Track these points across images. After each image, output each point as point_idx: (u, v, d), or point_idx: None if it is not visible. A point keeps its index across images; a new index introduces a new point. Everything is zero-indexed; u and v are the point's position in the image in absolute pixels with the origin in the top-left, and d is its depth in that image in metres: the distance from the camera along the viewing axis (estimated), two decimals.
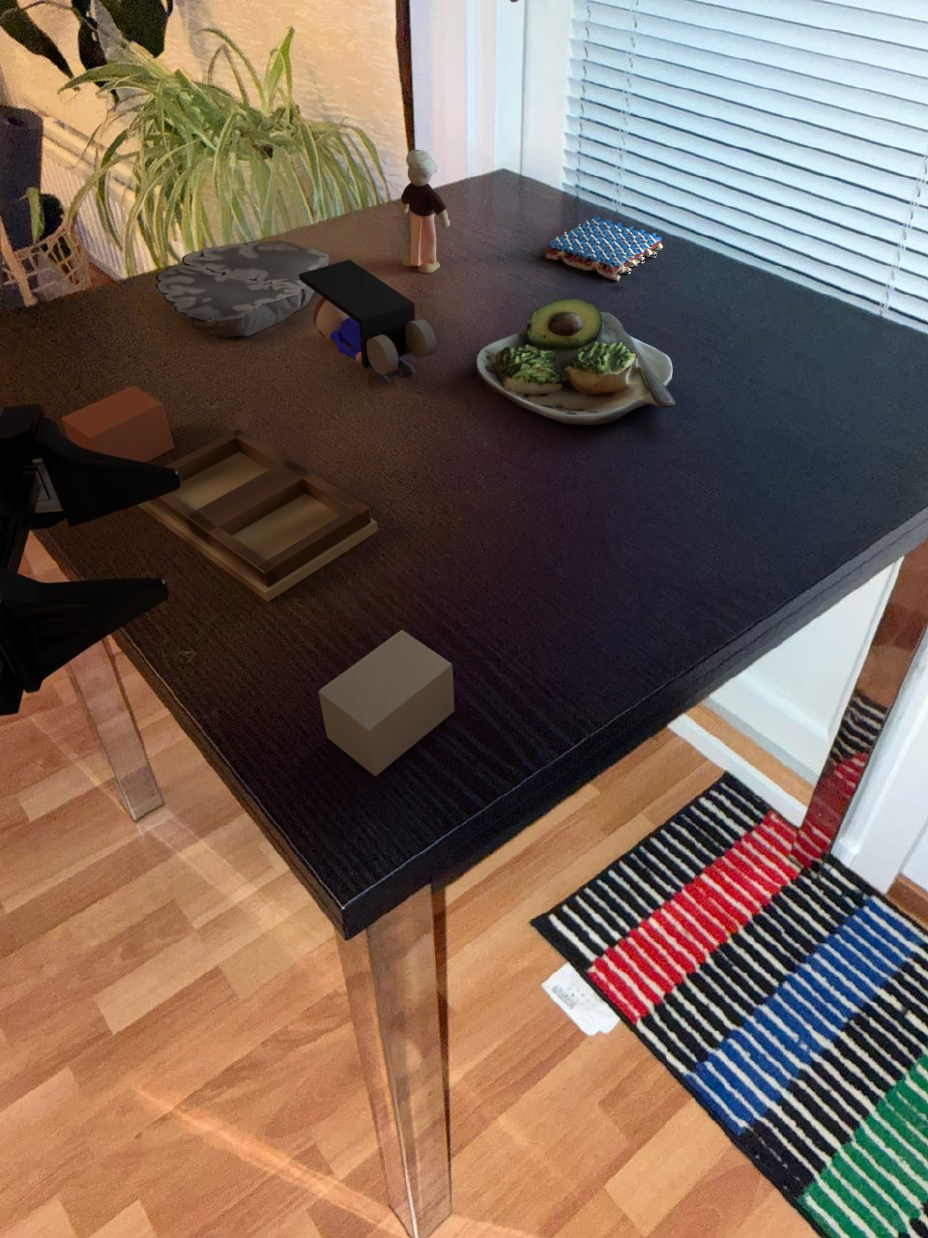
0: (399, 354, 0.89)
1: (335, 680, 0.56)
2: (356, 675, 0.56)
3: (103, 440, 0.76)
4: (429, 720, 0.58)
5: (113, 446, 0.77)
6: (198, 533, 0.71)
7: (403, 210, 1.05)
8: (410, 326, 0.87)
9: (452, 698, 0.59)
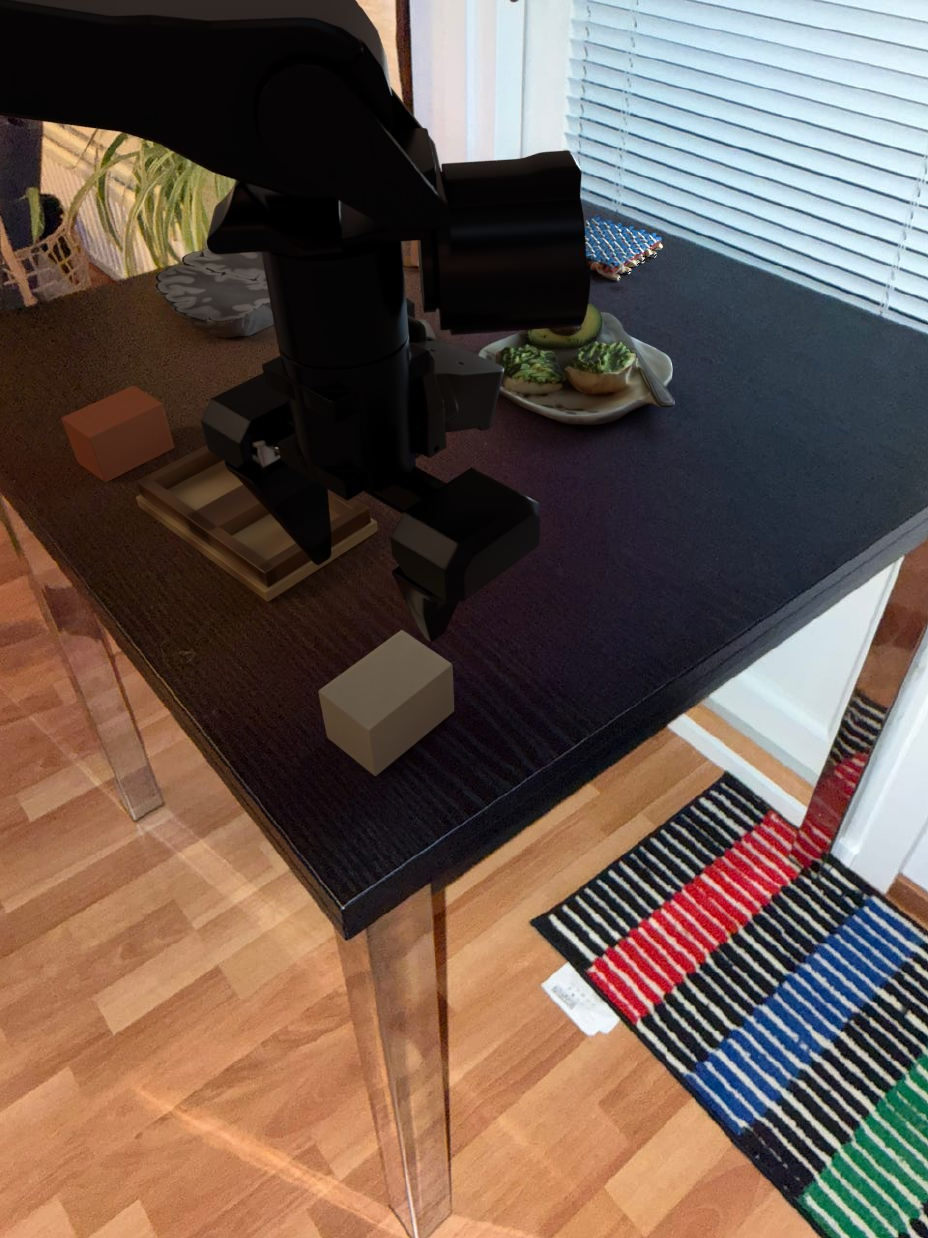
0: None
1: (335, 680, 0.56)
2: (356, 675, 0.56)
3: (103, 440, 0.76)
4: (429, 720, 0.58)
5: (113, 446, 0.77)
6: (198, 533, 0.71)
7: None
8: None
9: (452, 698, 0.59)
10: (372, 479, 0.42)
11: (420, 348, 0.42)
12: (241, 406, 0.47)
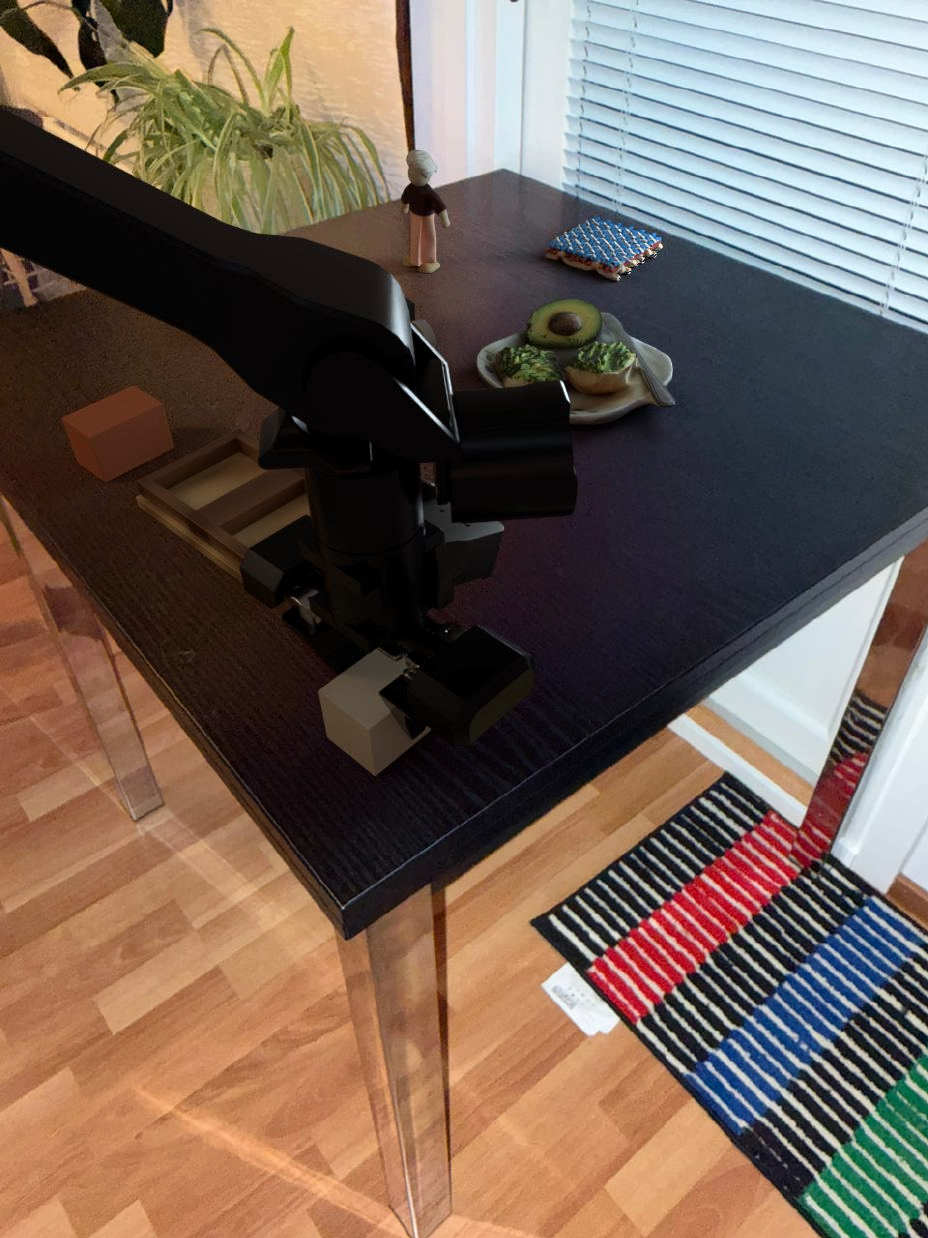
0: None
1: (335, 680, 0.56)
2: (356, 675, 0.56)
3: (103, 440, 0.76)
4: None
5: (113, 446, 0.77)
6: (198, 533, 0.71)
7: (403, 210, 1.05)
8: None
9: None
10: (390, 634, 0.50)
11: (433, 526, 0.49)
12: (275, 557, 0.54)
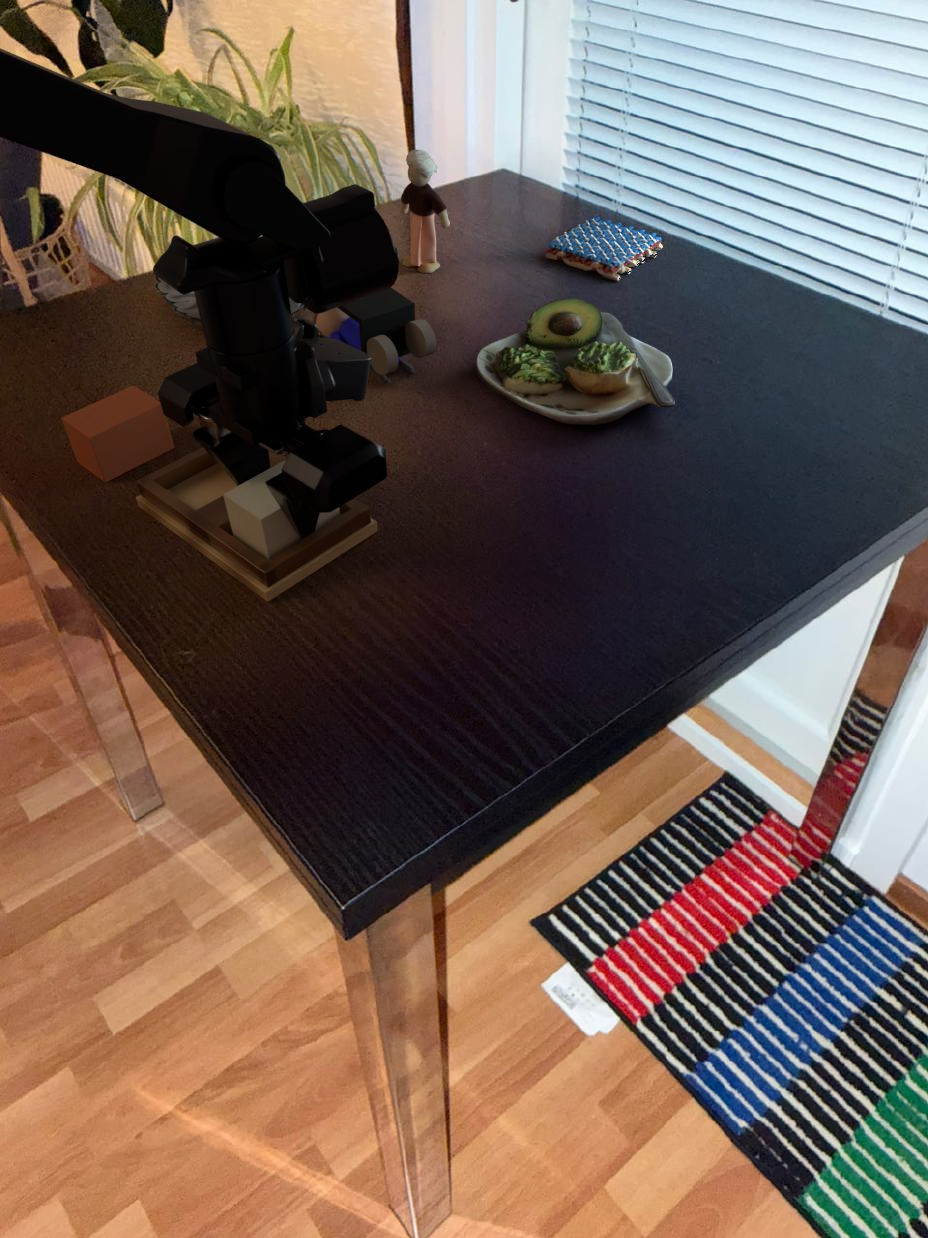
0: (399, 354, 0.89)
1: (237, 487, 0.68)
2: (255, 483, 0.69)
3: (103, 440, 0.76)
4: (318, 525, 0.70)
5: (113, 446, 0.77)
6: (198, 533, 0.71)
7: (403, 210, 1.05)
8: (410, 326, 0.87)
9: (338, 509, 0.71)
10: (272, 431, 0.62)
11: (303, 342, 0.61)
12: (186, 382, 0.66)
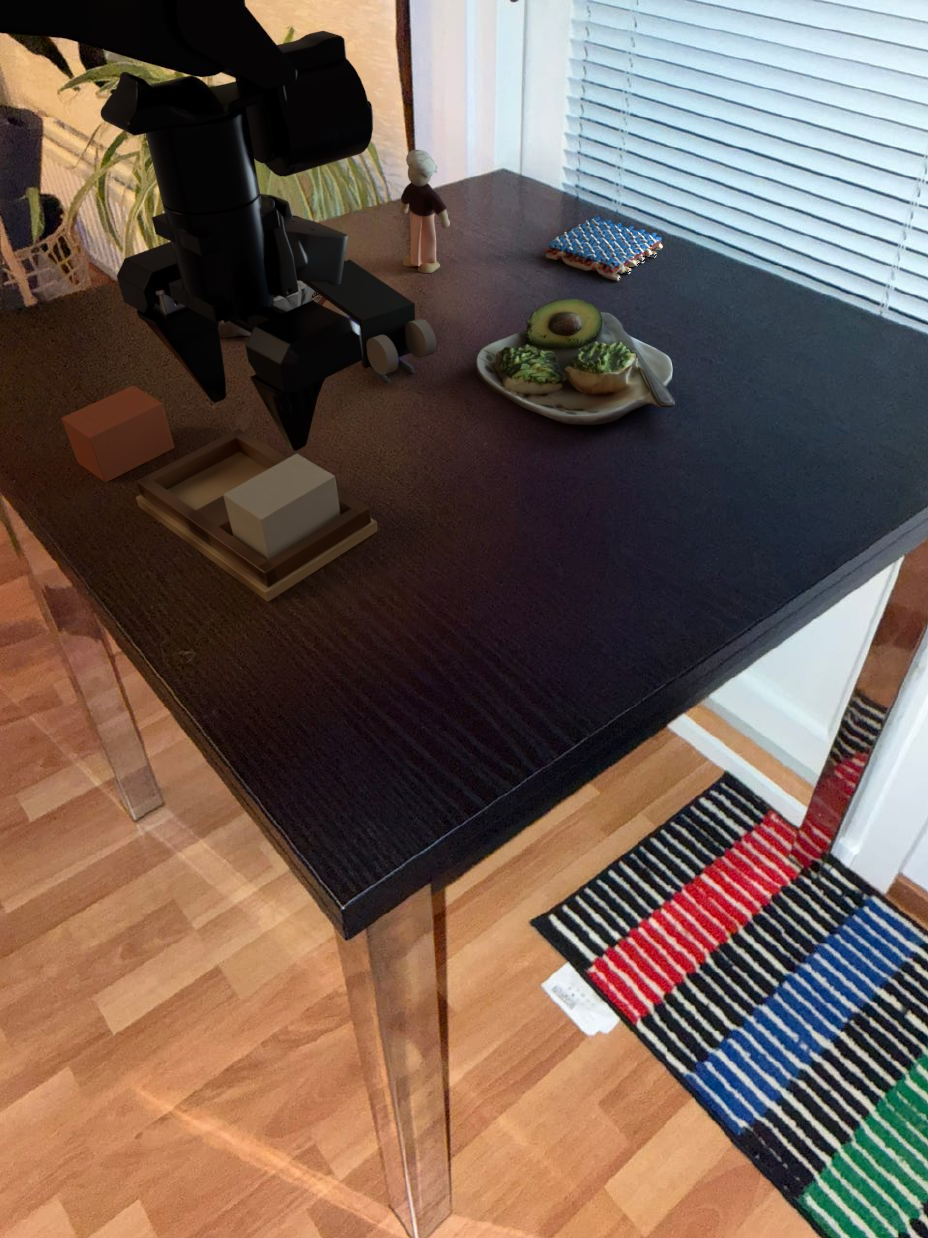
0: (399, 354, 0.89)
1: (237, 487, 0.68)
2: (255, 483, 0.69)
3: (103, 440, 0.76)
4: (318, 525, 0.70)
5: (113, 446, 0.77)
6: (198, 533, 0.71)
7: (403, 210, 1.05)
8: (410, 326, 0.87)
9: (338, 509, 0.71)
10: (236, 308, 0.57)
11: (271, 208, 0.56)
12: (146, 263, 0.61)
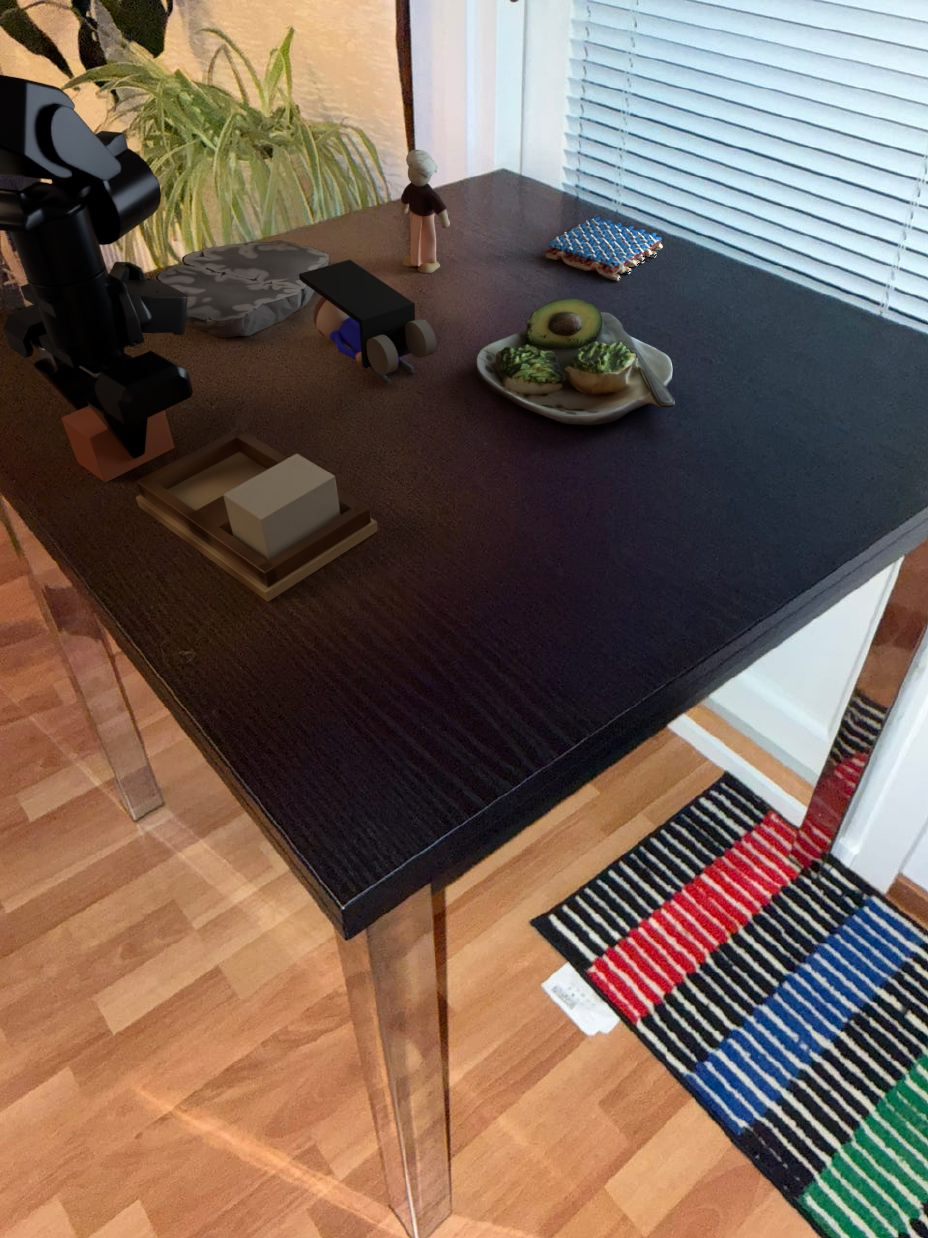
0: (399, 354, 0.89)
1: (237, 487, 0.68)
2: (255, 483, 0.69)
3: (103, 440, 0.76)
4: (318, 525, 0.70)
5: (113, 446, 0.77)
6: (198, 533, 0.71)
7: (403, 210, 1.05)
8: (410, 326, 0.87)
9: (338, 509, 0.71)
10: (90, 356, 0.72)
11: (115, 278, 0.71)
12: (26, 318, 0.76)
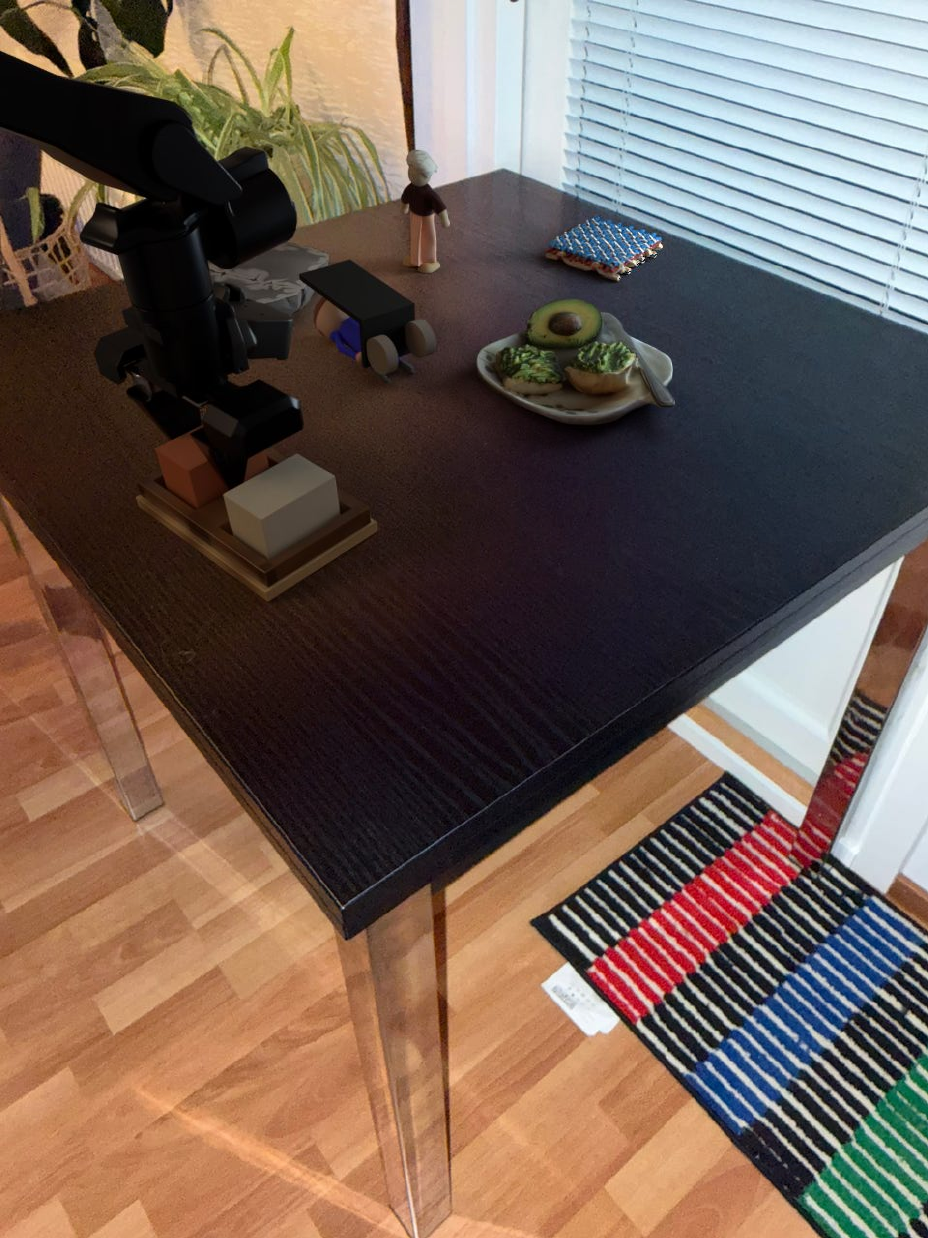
0: (399, 354, 0.89)
1: (237, 487, 0.68)
2: (255, 483, 0.69)
3: (202, 472, 0.71)
4: (318, 525, 0.70)
5: (211, 479, 0.72)
6: (198, 533, 0.71)
7: (403, 210, 1.05)
8: (410, 326, 0.87)
9: (338, 509, 0.71)
10: (195, 385, 0.66)
11: (223, 301, 0.65)
12: (119, 342, 0.71)
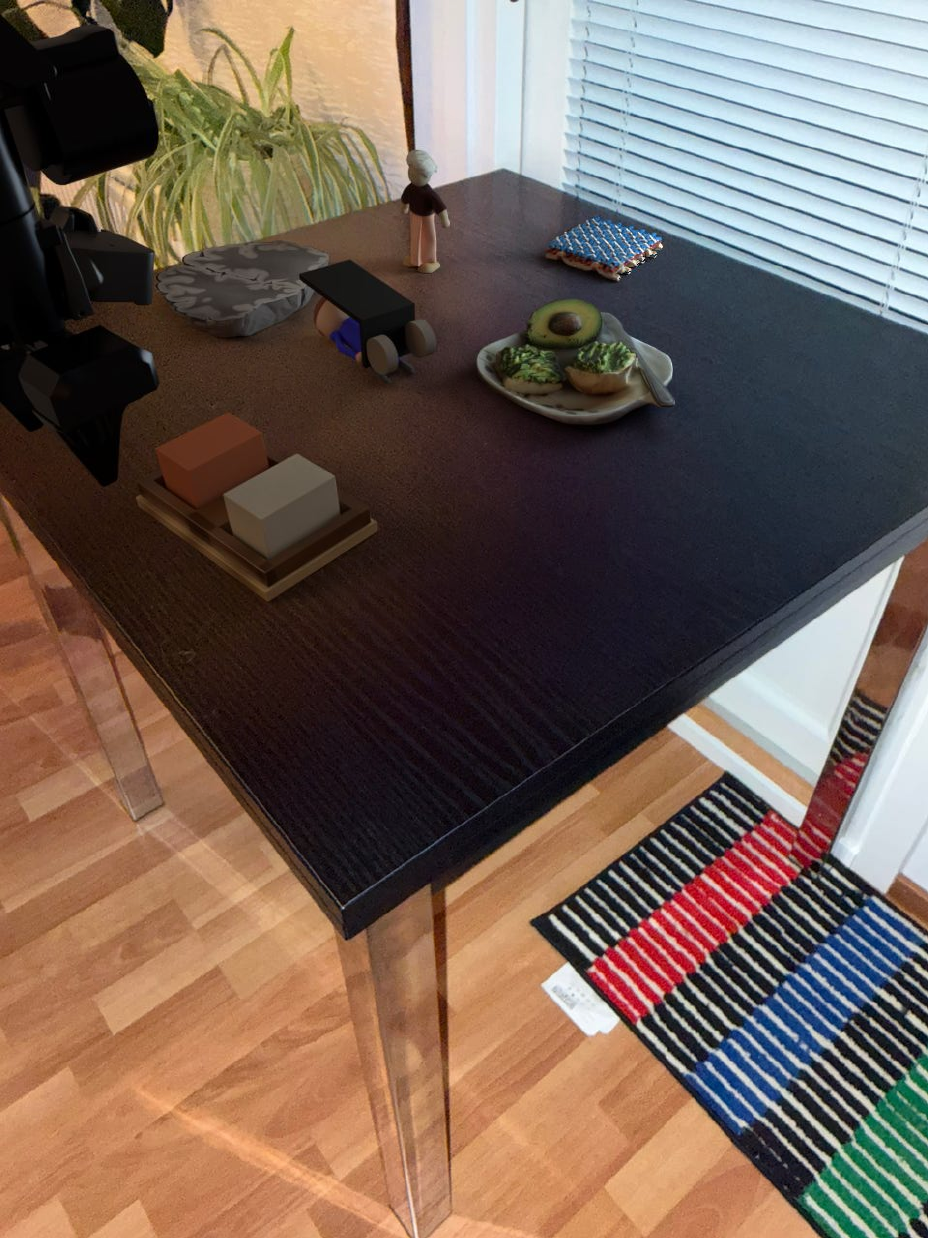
0: (399, 354, 0.89)
1: (237, 487, 0.68)
2: (255, 483, 0.69)
3: (202, 472, 0.71)
4: (318, 525, 0.70)
5: (211, 479, 0.72)
6: (198, 533, 0.71)
7: (403, 210, 1.05)
8: (410, 326, 0.87)
9: (338, 509, 0.71)
10: (16, 333, 0.51)
11: (50, 223, 0.50)
12: None
